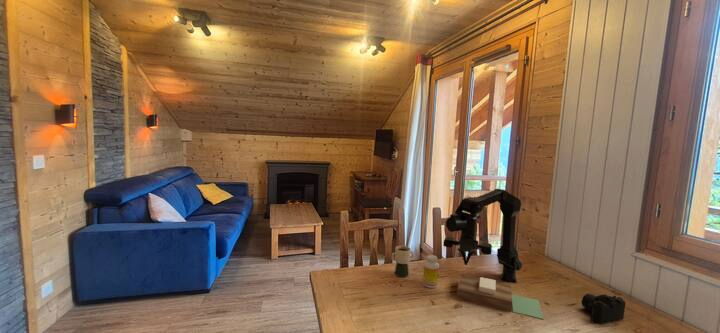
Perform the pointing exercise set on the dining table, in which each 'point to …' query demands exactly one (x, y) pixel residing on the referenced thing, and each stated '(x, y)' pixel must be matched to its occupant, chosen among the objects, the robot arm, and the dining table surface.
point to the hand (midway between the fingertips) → (465, 264)
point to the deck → (484, 294)
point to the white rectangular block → (487, 285)
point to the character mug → (402, 260)
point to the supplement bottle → (431, 272)
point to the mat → (526, 306)
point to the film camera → (604, 307)
